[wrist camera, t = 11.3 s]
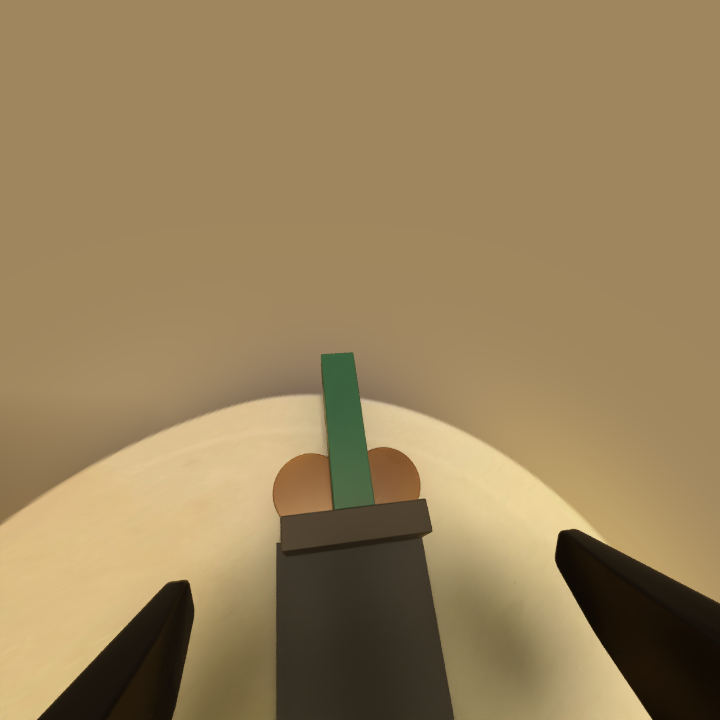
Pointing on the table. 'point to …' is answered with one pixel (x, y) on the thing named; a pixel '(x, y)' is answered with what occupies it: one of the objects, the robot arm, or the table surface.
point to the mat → (359, 636)
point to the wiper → (350, 480)
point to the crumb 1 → (303, 486)
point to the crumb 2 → (393, 476)
